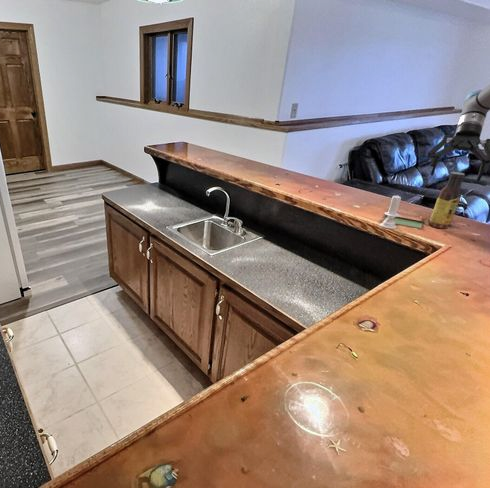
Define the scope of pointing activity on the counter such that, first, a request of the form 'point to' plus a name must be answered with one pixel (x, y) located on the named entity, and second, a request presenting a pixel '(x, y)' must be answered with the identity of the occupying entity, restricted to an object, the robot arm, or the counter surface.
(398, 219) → the mat
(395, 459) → the counter surface
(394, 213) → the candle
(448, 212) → the sauce bottle
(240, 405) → the counter surface
